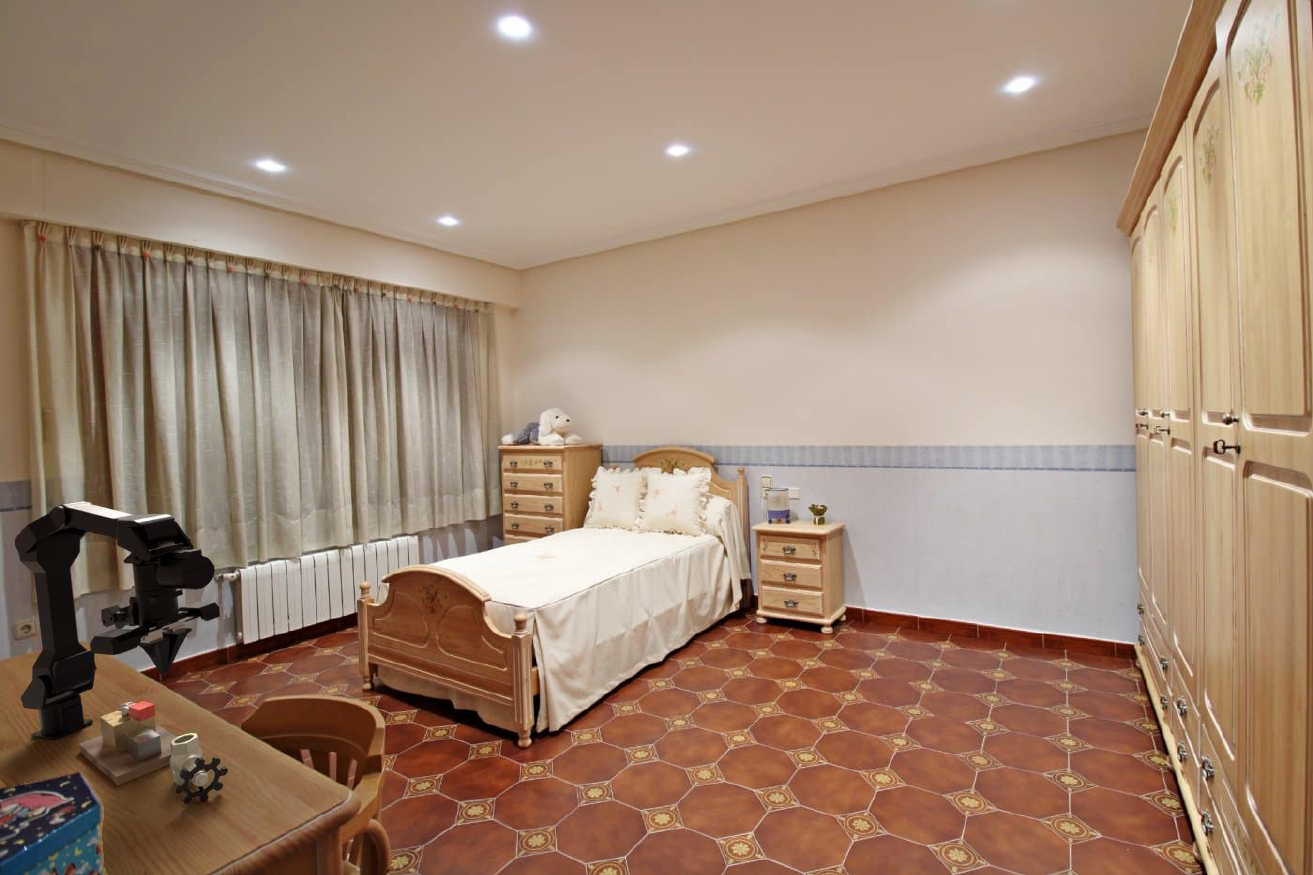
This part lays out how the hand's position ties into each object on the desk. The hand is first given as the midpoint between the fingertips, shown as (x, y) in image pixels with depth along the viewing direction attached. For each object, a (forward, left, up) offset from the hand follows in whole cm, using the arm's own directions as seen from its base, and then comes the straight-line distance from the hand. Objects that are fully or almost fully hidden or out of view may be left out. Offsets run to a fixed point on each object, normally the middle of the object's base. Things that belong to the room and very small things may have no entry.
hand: (164, 673), depth 111 cm
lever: (-2, -4, -6) cm, 7 cm away
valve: (+18, -10, -13) cm, 24 cm away
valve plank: (-3, -4, -13) cm, 14 cm away
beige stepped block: (-3, -4, -11) cm, 12 cm away
